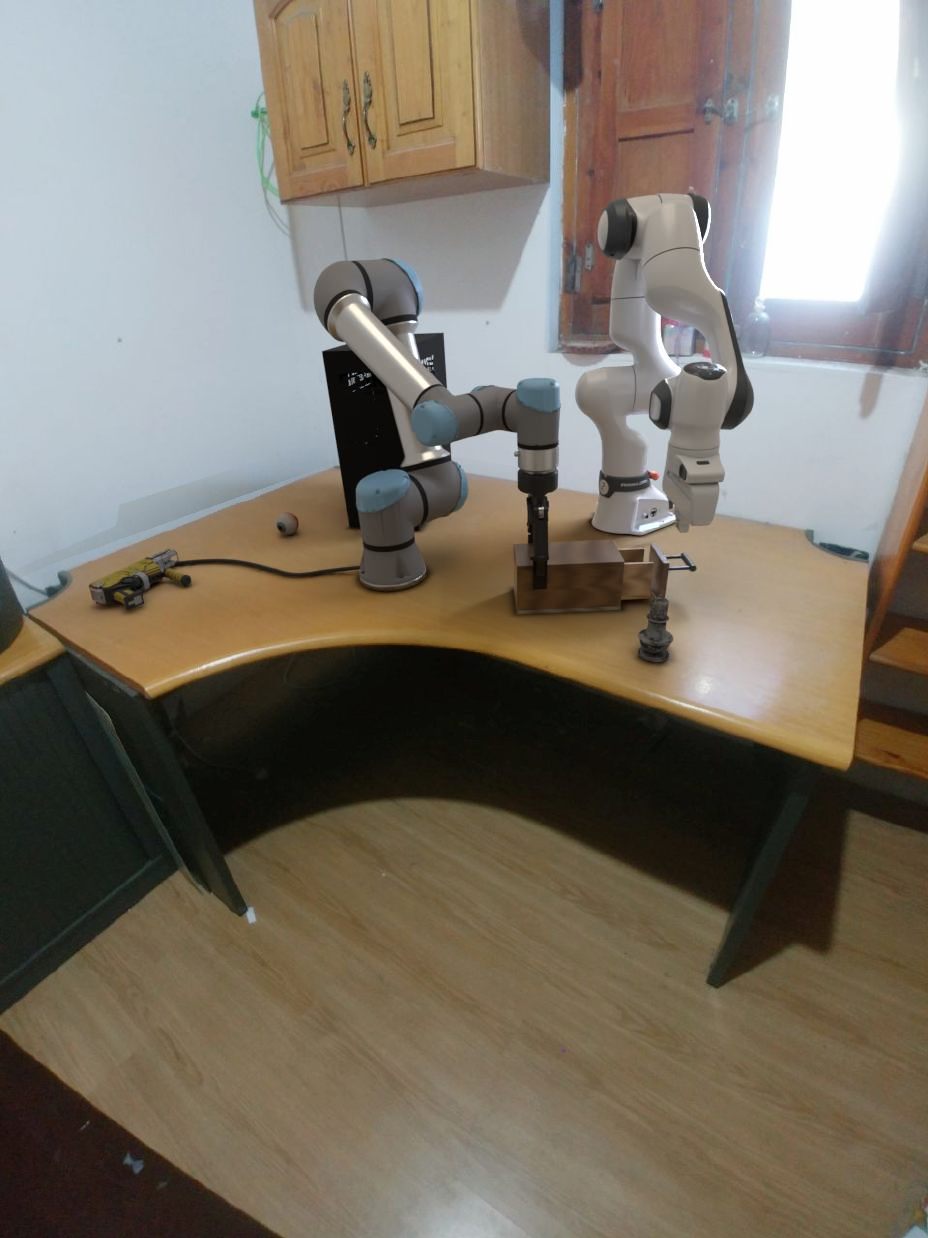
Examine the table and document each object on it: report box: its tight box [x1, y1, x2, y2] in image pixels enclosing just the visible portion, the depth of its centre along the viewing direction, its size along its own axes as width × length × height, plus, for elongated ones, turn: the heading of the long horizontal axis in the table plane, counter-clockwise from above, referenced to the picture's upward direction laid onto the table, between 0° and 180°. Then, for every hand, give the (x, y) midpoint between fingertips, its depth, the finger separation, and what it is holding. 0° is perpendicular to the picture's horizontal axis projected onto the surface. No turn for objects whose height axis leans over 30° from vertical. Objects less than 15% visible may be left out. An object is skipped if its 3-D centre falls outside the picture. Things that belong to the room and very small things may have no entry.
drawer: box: [618, 543, 697, 601], centre depth 122 cm, size 25×10×9 cm, turn 90°
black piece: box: [321, 332, 452, 532], centre depth 169 cm, size 38×20×45 cm, turn 167°
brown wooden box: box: [512, 539, 624, 615], centre depth 122 cm, size 21×11×11 cm, turn 90°
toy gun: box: [88, 547, 192, 612], centre depth 139 cm, size 5×24×15 cm
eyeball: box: [275, 511, 300, 536], centre depth 163 cm, size 6×6×6 cm
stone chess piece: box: [637, 593, 674, 663], centre depth 103 cm, size 6×6×12 cm
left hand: (536, 575), depth 122 cm, fingers closed on brown wooden box, 11 cm apart
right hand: (681, 529), depth 117 cm, fingers closed
